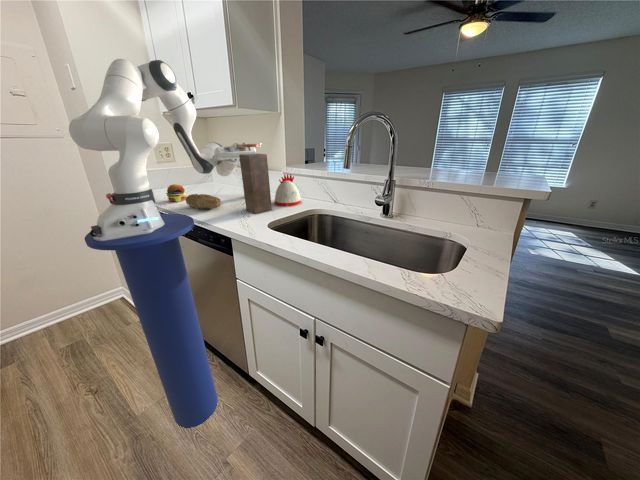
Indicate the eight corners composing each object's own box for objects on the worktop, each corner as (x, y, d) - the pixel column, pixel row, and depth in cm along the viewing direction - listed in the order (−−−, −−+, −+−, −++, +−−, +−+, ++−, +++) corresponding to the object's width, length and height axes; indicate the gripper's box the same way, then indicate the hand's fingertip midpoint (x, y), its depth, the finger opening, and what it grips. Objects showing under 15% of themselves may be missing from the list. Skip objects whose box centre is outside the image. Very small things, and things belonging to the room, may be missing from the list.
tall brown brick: (255, 213, 121) (248, 155, 111) (246, 210, 127) (239, 154, 117) (271, 210, 127) (266, 154, 117) (262, 206, 133) (256, 153, 123)
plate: (247, 147, 110) (247, 144, 110) (228, 146, 124) (227, 143, 123) (264, 146, 116) (264, 143, 115) (244, 145, 129) (244, 143, 128)
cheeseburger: (167, 203, 142) (163, 184, 140) (169, 203, 151) (164, 186, 150) (188, 200, 146) (183, 182, 144) (188, 201, 156) (184, 184, 154)
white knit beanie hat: (305, 203, 137) (303, 174, 131) (280, 207, 131) (278, 177, 125) (294, 198, 148) (293, 171, 142) (271, 201, 142) (269, 173, 136)
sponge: (184, 209, 135) (195, 208, 120) (183, 194, 134) (194, 191, 119) (210, 209, 144) (224, 208, 129) (209, 194, 143) (223, 192, 128)
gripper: (209, 153, 127) (216, 138, 116) (247, 151, 140) (257, 137, 129) (213, 165, 127) (221, 151, 116) (251, 162, 140) (261, 149, 129)
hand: (240, 144), depth 123 cm, fingers closed on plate, 3 cm apart
